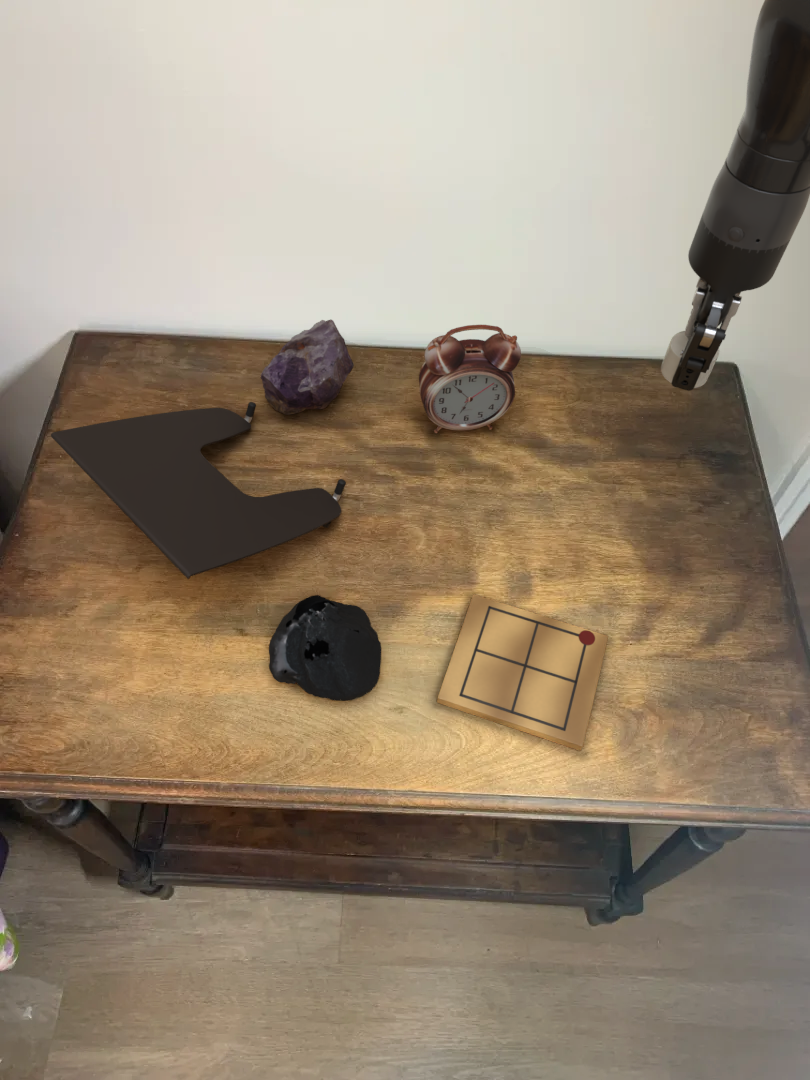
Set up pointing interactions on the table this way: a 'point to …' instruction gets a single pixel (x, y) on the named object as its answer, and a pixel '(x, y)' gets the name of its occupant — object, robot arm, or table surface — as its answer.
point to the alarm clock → (468, 379)
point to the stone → (674, 357)
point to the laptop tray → (191, 487)
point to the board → (525, 671)
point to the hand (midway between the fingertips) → (686, 367)
